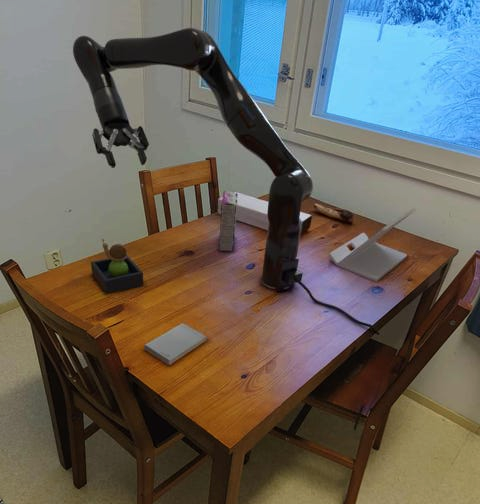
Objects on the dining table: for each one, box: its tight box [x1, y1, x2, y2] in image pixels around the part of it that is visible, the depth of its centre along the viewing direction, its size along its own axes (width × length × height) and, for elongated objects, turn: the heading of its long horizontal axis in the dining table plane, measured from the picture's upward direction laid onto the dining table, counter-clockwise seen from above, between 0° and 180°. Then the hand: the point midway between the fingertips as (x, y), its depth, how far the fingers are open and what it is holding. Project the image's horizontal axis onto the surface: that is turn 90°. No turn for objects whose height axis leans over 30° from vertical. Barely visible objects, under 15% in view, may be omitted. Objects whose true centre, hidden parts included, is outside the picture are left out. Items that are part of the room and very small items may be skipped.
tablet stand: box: [328, 208, 416, 282], centre depth 150 cm, size 18×25×17 cm
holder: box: [90, 254, 144, 295], centre depth 129 cm, size 12×11×4 cm
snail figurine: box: [101, 238, 128, 278], centre depth 126 cm, size 5×6×12 cm
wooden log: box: [313, 203, 354, 224], centre depth 183 cm, size 9×5×18 cm
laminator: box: [216, 191, 313, 235], centre depth 170 cm, size 34×12×6 cm, turn 58°
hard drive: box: [143, 322, 207, 366], centre depth 108 cm, size 2×8×12 cm
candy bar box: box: [218, 190, 239, 252], centre depth 150 cm, size 11×5×16 cm, turn 179°
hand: (129, 165), depth 124 cm, fingers open, 8 cm apart
